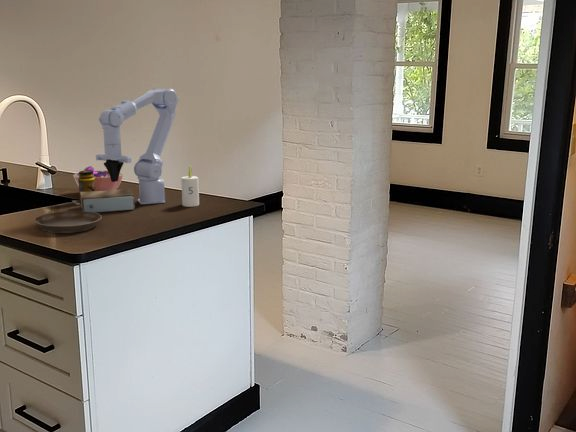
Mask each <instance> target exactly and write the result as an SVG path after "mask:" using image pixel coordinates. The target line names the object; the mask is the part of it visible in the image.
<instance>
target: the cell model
mask: <svg viewBox="0 0 576 432" xmlns="http://www.w3.org/2000/svg"><path fill="white" fill-rule="evenodd" d="M85 170H91V171H93V175H94V176H93V177H94V178H95V188H96V191H106V190H118V188H119V187H120V185H121V182H122V179H123V177H124V175H123V174H122V173H121V172H120V173H119V178H118V181H116V182H112V181H111V178H110V175H109V172H108V170H94V167H92V166H91V165H90V166H87V167H85V168H84V169H83V171H85ZM72 176H73V178H74V180H75V183H76V184H77V186H78V187H79V182H78V179H79V172H76V173H74V174H73V175H72Z"/></svg>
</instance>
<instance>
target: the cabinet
mask: <svg viewBox="0 0 576 432" xmlns="http://www.w3.org/2000/svg"><path fill="white" fill-rule="evenodd" d="M80 195H81V204H80V206H81V211H84V202H83V200H85V199H100V198H115V197H130V196H133V197H134V198H135V194H134V192H133V191H132V189H130V188H127V189H126V188H124V189H116V190H106V191H90V192H80V194H79V196H80ZM133 205H135V200H134V201H133ZM135 209H136V207H135V208H134V209H130V210H129V211H134V210H135ZM121 211H124V210H117V211H116V212H121ZM107 212H111V211H103V212H102V213H107ZM94 213H98V212H94Z"/></svg>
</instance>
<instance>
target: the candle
mask: <svg viewBox="0 0 576 432" xmlns="http://www.w3.org/2000/svg"><path fill="white" fill-rule="evenodd" d="M180 180H181V195H182V196H181V201H182V202H181V203H182V206H183V207H189V208H191V207H197V206H200V190H199V187H200V186H199V182H200V181H199V177H198V176H196V175H193V171H192V167H191V165H190V164H189V165H188V175H187V176H182V177H181V179H180Z"/></svg>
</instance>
